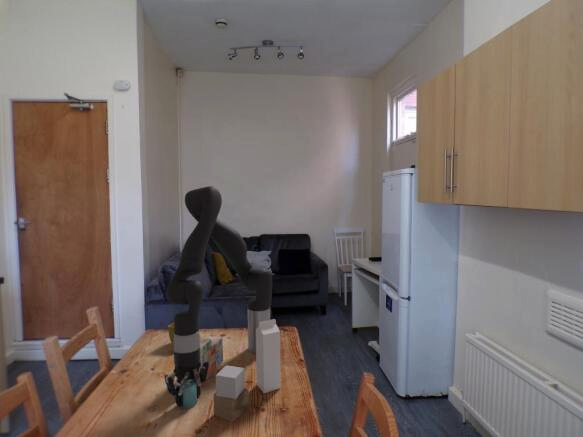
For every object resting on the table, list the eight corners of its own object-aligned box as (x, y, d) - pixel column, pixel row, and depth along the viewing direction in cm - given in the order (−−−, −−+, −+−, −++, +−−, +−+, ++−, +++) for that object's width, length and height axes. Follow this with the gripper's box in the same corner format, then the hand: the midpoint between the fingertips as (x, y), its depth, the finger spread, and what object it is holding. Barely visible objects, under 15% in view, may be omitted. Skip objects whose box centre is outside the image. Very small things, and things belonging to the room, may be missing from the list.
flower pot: (197, 340, 150) (196, 320, 150) (186, 349, 142) (186, 327, 141) (179, 339, 152) (178, 319, 152) (167, 347, 144) (167, 326, 143)
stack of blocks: (208, 359, 132) (207, 328, 132) (223, 361, 131) (222, 329, 130) (177, 388, 112) (176, 351, 111) (194, 391, 110) (193, 353, 109)
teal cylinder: (191, 396, 107) (190, 378, 106) (200, 403, 103) (199, 383, 103) (176, 404, 103) (176, 384, 103) (185, 410, 100) (184, 390, 99)
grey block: (226, 385, 102) (225, 365, 102) (244, 388, 101) (244, 368, 100) (216, 395, 97) (215, 375, 96) (235, 399, 95) (235, 378, 94)
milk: (280, 388, 111) (280, 321, 110) (263, 393, 108) (263, 325, 107) (272, 379, 116) (272, 316, 115) (256, 384, 113) (255, 319, 112)
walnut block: (230, 402, 104) (230, 383, 103) (248, 409, 100) (248, 389, 100) (213, 414, 98) (213, 394, 97) (232, 422, 94) (231, 401, 94)
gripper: (200, 336, 110) (201, 387, 111) (157, 350, 99) (159, 407, 100) (214, 342, 105) (215, 396, 106) (171, 358, 94) (172, 418, 95)
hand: (188, 401), depth 103 cm, fingers closed on teal cylinder, 5 cm apart
